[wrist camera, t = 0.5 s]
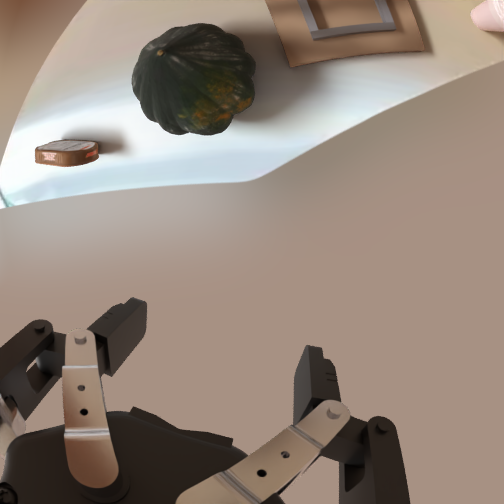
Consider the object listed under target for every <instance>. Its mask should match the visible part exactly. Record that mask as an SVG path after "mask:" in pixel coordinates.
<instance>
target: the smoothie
mask: <svg viewBox="0 0 504 504" xmlns="http://www.w3.org/2000/svg"><path fill="white" fill-rule="evenodd" d="M471 18H472V20H473V22H474V24H475V25H476V26H477V27H478V28H480V29H481V30H484V31H500V32H504V0H486V1H484V2H483V3H481V4H480V5H478V6H477V7H475V8H474V9H472V10H471Z"/></svg>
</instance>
